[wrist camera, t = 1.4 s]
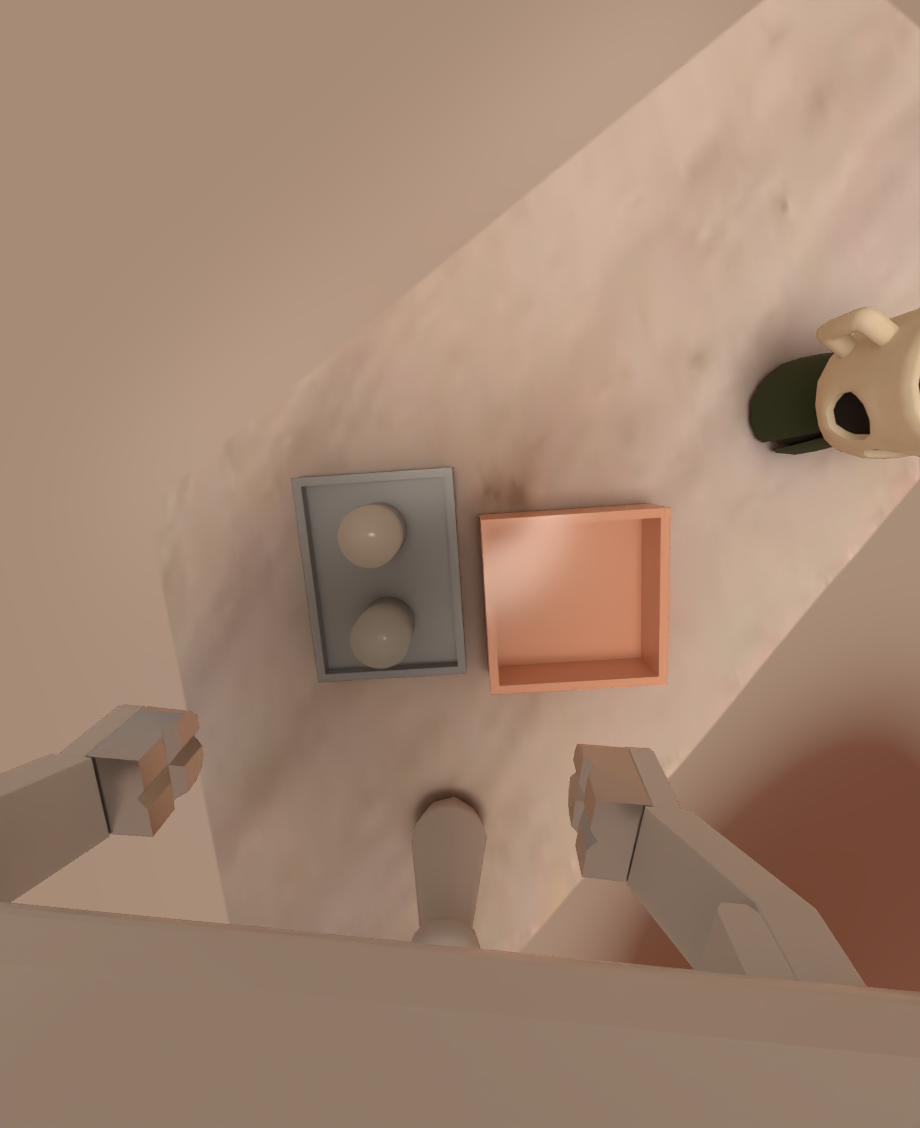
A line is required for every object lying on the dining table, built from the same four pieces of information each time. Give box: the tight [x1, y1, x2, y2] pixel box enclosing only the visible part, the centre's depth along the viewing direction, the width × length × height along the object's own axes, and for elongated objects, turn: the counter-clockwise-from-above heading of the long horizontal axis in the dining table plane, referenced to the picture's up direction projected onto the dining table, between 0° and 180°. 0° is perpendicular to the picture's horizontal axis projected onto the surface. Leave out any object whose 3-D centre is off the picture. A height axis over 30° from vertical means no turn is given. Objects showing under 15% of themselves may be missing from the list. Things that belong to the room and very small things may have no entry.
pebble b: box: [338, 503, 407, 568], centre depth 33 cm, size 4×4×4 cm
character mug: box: [751, 307, 920, 459], centre depth 27 cm, size 11×7×13 cm, turn 56°
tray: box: [291, 467, 466, 682], centre depth 35 cm, size 15×11×1 cm
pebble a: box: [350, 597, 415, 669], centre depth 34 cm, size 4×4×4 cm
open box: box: [479, 503, 670, 694], centre depth 34 cm, size 12×12×4 cm
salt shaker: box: [412, 796, 487, 949], centre depth 33 cm, size 6×6×13 cm
